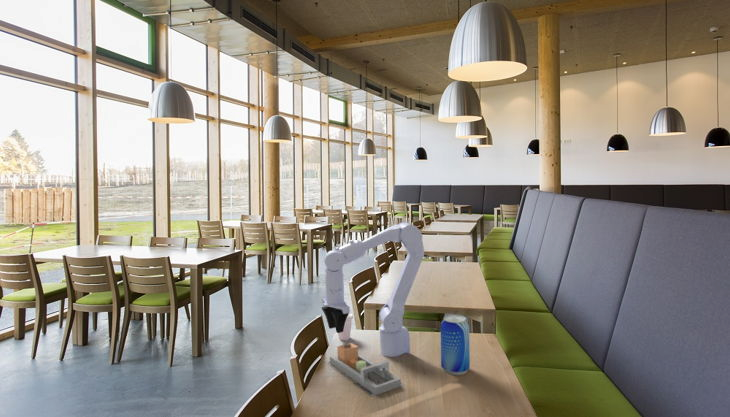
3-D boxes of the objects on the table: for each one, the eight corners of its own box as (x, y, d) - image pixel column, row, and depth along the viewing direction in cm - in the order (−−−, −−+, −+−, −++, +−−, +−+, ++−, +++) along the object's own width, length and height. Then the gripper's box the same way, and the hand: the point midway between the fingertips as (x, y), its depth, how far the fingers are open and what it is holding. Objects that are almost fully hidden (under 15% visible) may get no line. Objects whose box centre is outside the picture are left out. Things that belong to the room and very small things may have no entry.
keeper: (351, 359, 138) (351, 340, 138) (362, 366, 133) (362, 347, 132) (337, 363, 136) (337, 344, 135) (348, 370, 130) (348, 351, 130)
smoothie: (351, 345, 153) (350, 306, 152) (333, 344, 154) (332, 305, 153) (355, 338, 159) (354, 301, 158) (338, 337, 160) (337, 300, 159)
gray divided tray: (354, 357, 142) (354, 348, 142) (404, 388, 121) (404, 377, 121) (324, 366, 136) (324, 356, 136) (371, 401, 115) (371, 389, 115)
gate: (386, 380, 126) (386, 360, 126) (389, 382, 125) (388, 362, 124) (360, 389, 121) (360, 368, 121) (363, 391, 120) (363, 370, 120)
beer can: (474, 369, 132) (474, 317, 131) (460, 379, 126) (459, 325, 124) (450, 361, 137) (450, 312, 136) (435, 371, 131) (435, 319, 130)
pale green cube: (362, 369, 131) (362, 359, 131) (368, 372, 129) (368, 363, 128) (354, 372, 129) (354, 362, 129) (359, 375, 127) (359, 365, 127)
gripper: (313, 286, 143) (314, 326, 144) (335, 295, 131) (336, 339, 132) (332, 282, 147) (333, 322, 148) (354, 291, 135) (356, 334, 136)
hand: (336, 330), depth 140 cm, fingers open, 4 cm apart
